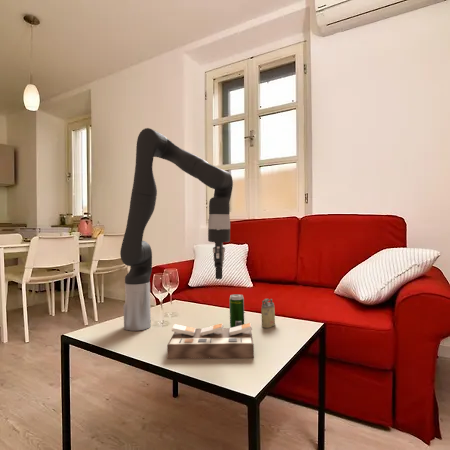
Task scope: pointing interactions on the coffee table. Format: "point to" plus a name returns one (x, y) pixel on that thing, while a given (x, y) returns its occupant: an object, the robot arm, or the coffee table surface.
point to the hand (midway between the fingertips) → (218, 278)
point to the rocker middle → (212, 329)
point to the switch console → (211, 345)
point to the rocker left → (183, 329)
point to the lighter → (268, 313)
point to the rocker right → (240, 329)
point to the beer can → (236, 310)
